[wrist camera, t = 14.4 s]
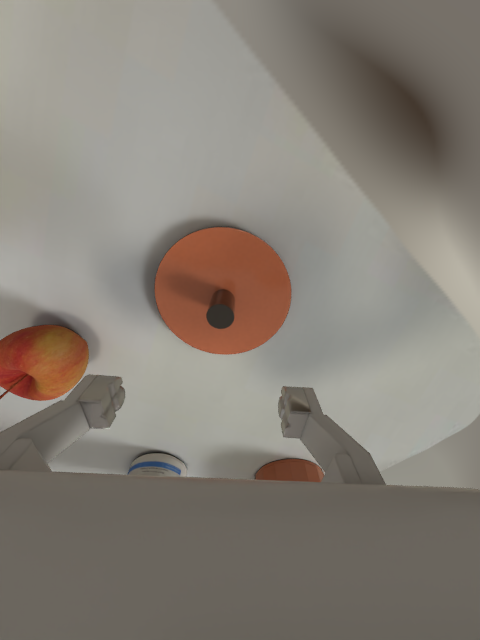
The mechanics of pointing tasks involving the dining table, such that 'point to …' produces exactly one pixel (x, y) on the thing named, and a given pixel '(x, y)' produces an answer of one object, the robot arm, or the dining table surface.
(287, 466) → the bowl
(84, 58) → the dining table surface
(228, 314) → the bowl lid
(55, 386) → the apple
